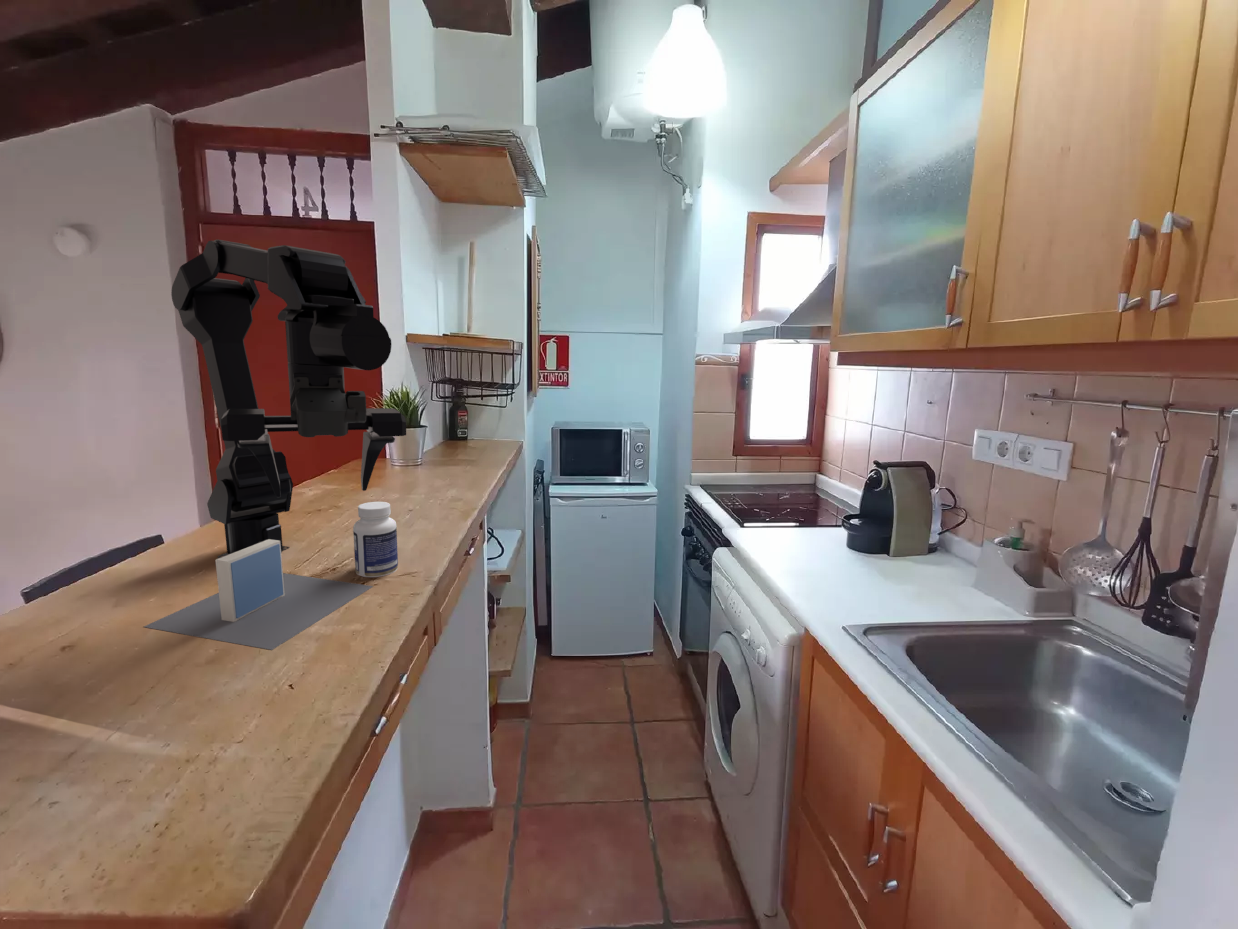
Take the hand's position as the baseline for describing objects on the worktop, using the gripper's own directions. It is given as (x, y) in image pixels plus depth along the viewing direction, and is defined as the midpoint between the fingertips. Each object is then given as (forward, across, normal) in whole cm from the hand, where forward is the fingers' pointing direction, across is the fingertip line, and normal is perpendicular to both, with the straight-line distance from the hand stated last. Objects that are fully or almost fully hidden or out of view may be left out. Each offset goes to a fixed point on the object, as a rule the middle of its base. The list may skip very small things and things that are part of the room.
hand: (322, 493), depth 67 cm
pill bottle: (+13, +6, +3) cm, 15 cm away
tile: (+12, -8, -3) cm, 15 cm away
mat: (+13, -6, -3) cm, 15 cm away
